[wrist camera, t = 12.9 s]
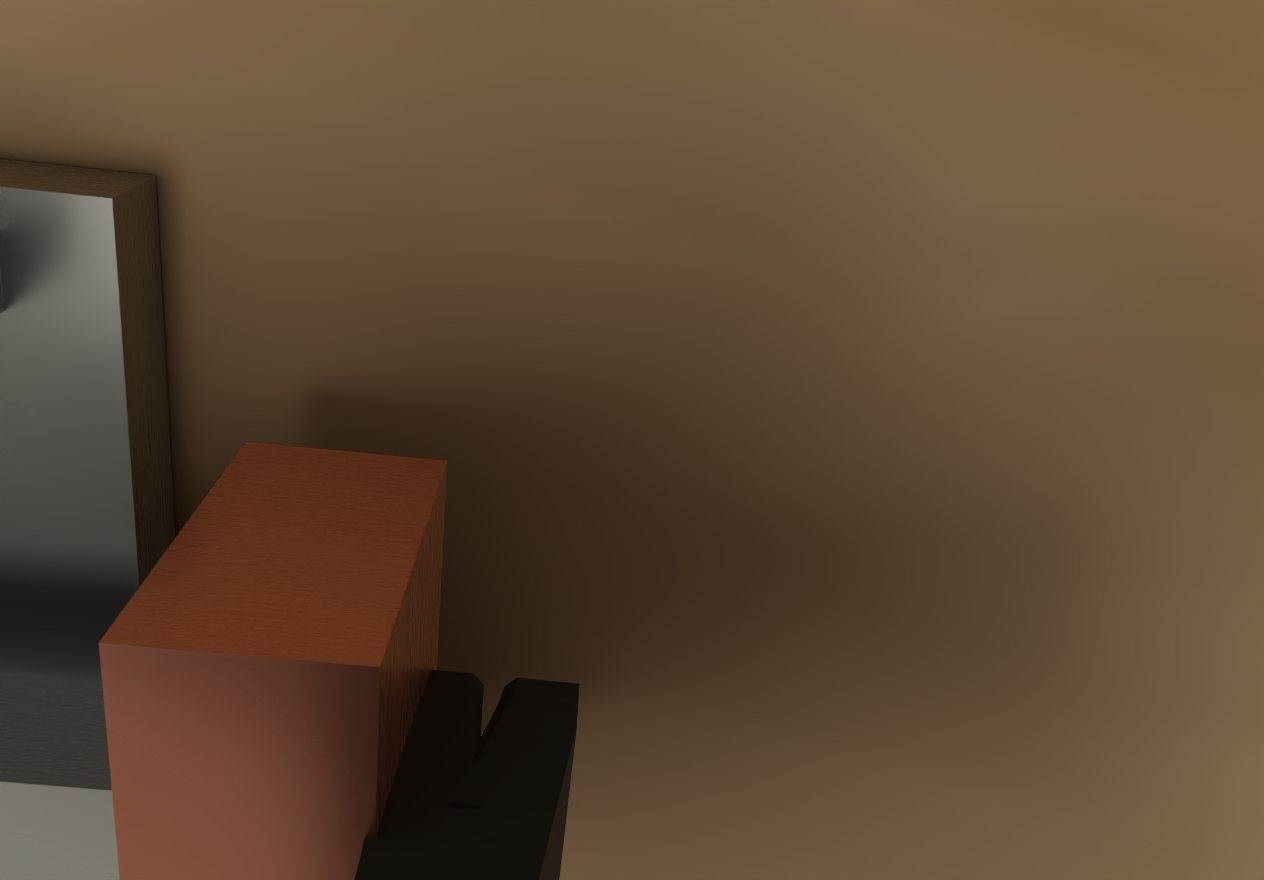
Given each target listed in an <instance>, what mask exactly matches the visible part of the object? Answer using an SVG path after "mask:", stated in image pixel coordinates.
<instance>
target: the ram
mask: <svg viewBox="0 0 1264 880" xmlns="http://www.w3.org/2000/svg"><path fill="white" fill-rule="evenodd" d="M446 479H447V461H445V460H435V459H424V458H414V457H403V456H393V455H383V454H372V453H362V452H351V451H341V450H331V449H320V448H310V447H299V446H289V445H279V444H268V443H258V442H247V441H246V442H245V444H244V445H243V446H242V448H241V449H240V450H239V452H238V453H237V455H236V456H235V457H234V459H233V460H232V461H231V463H230V464H229V465H228V467H227V468H226V470H225V471H224V472H223V474H222V475H221V476H220V478H219V479H218V480H217V482H216V483H215V485H214V486H213V487H212V489H211V490H210V491H209V493H208V494H207V496H206V497H205V498H204V500H203V501H202V502H201V504H200V505H199V506H198V508H197V509H196V511H195V512H194V513H193V515H192V516H191V517H190V519H189V520H188V521H187V523H186V524H185V526H184V527H183V528H182V530H181V531H180V532H179V534H178V535H177V536H176V538H175V539H174V541H173V542H172V543H171V545H170V546H169V547H168V549H167V550H166V552H165V553H164V554H163V556H162V557H161V558H160V560H159V561H158V562H157V564H156V565H155V567H154V568H153V569H152V571H151V572H150V573H149V575H148V576H147V577H146V579H145V580H144V582H143V583H142V584H141V586H140V587H139V588H138V590H137V591H136V593H135V594H134V595H133V597H132V598H131V599H130V601H129V602H128V603H127V605H126V606H125V608H124V609H123V610H122V612H121V613H120V614H119V616H118V617H117V618H116V620H115V621H114V623H113V624H112V625H111V627H110V628H109V629H108V631H107V632H106V634H105V635H104V636H103V638H102V639H101V640H100V642H99V651H100V662H101V674H102V682H99V681H88V680H76V679H64V678H52V677H41V676H29V675H17V674H5V673H0V880H354V879H355V875H356V871H357V868H358V864H359V860H360V856H361V851H362V846H363V841H364V838H375V837H376V834H377V831H378V828H379V825H380V821H381V818H382V815H383V812H384V809H385V806H386V802H387V799H388V796H389V793H390V790H391V787H392V783H393V780H394V777H395V774H396V771H397V768H398V764H399V761H400V758H401V755H402V752H403V749H404V746H405V743H406V740H407V736H408V733H409V730H410V727H411V724H412V721H413V718H414V715H415V712H416V709H417V707H418V704H419V701H420V698H421V695H422V693H423V690H424V688H425V685H426V683H427V680H428V678H429V676H430V673H431V671H432V670H437V655H438V636H439V616H440V597H441V577H442V557H443V538H444V518H445V499H446Z"/></svg>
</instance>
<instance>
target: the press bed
mask: <svg viewBox="0 0 1264 880" xmlns="http://www.w3.org/2000/svg"><path fill="white" fill-rule="evenodd" d="M174 539H175V520H174V502H173V483H172V465H171V447H170V428H169V410H168V392H167V373H166V355H165V337H164V318H163V300H162V282H161V264H160V245H159V227H158V209H157V190H156V175H147V174H137V173H128V172H119V171H110V170H100V169H91V168H82V167H72V166H63V165H54V164H44V163H35V162H26V161H17V160H7V159H0V673H5V674H17V675H29V676H41V677H52V678H64V679H76V680H88V681H99V682H102V674H101V662H100V651H99V642H100V640H101V639H102V638H103V636H104V635H105V634H106V632H107V631H108V629H109V628H110V627H111V625H112V624H113V623H114V621H115V620H116V618H117V617H118V616H119V614H120V613H121V612H122V610H123V609H124V608H125V606H126V605H127V603H128V602H129V601H130V599H131V598H132V597H133V595H134V594H135V593H136V591H137V590H138V588H139V587H140V586H141V584H142V583H143V582H144V580H145V579H146V577H147V576H148V575H149V573H150V572H151V571H152V569H153V568H154V567H155V565H156V564H157V562H158V561H159V560H160V558H161V557H162V556H163V554H164V553H165V552H166V550H167V549H168V547H169V546H170V545H171V543H172V542H173V541H174Z"/></svg>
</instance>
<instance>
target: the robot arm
mask: <svg viewBox="0 0 1264 880" xmlns="http://www.w3.org/2000/svg"><path fill="white" fill-rule="evenodd" d="M483 692H484V685H483V684H482V682H481V681H480V680H479V679H478V678H477V677H476V676H475V675H474V674H472V673H461V672H451V671H440V670H432V671H431V673H430V676H429V678H428V680H427V683H426V685H425V688H424V690H423V693H422V695H421V698H420V701H419V704H418V707H417V709H416V712H415V715H414V718H413V721H412V724H411V727H410V730H409V733H408V736H407V740H406V743H405V746H404V749H403V752H402V755H401V758H400V761H399V764H398V768H397V771H396V774H395V777H394V780H393V783H392V787H391V790H390V793H389V796H388V799H387V802H386V806H385V809H384V812H383V815H382V818H381V821H380V825H379V828H378V831H377V834H376V837H375V838H364V841H363V846H362V851H361V856H360V860H359V864H358V868H357V871H356V875H355V879H354V880H559V877H560V868H561V859H562V851H563V842H564V833H565V824H566V816H567V807H568V798H569V790H570V781H571V772H572V763H573V755H574V746H575V737H576V728H577V713H578V696H579V684H576V683H565V682H555V681H544V680H534V679H524V678H516V679H515V680H513V681H512V682H510V683H509V684H508V685H506V686H505V687H504V689H503V692H502V695H501V698H500V700H499V703H498V705H497V707H496V709H495V711H494V714H493V716H492V718H491V720H490V722H489V724H488V725H487V727H486V729H485V731H484V733H483V735H482V736H481V719H482V705H483Z"/></svg>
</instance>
